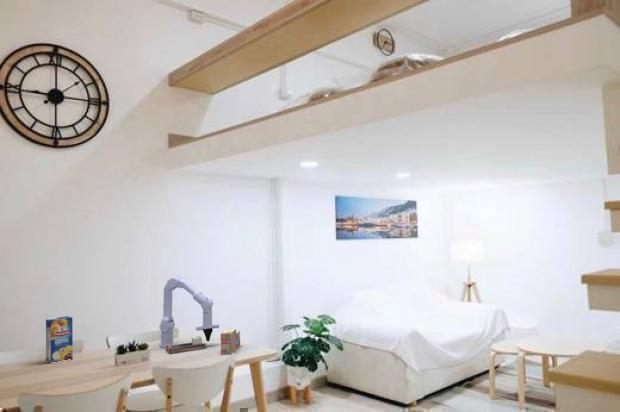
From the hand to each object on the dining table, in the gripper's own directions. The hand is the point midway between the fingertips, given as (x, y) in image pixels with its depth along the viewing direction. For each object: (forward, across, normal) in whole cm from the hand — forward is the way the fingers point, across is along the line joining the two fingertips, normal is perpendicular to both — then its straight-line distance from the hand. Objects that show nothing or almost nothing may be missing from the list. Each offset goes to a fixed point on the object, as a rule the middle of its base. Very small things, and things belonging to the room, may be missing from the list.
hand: (207, 340), depth 304 cm
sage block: (+2, -7, 0) cm, 7 cm away
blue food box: (+3, -82, +19) cm, 84 cm away
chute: (+3, -14, 0) cm, 14 cm away
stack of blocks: (+4, +9, -17) cm, 20 cm away
